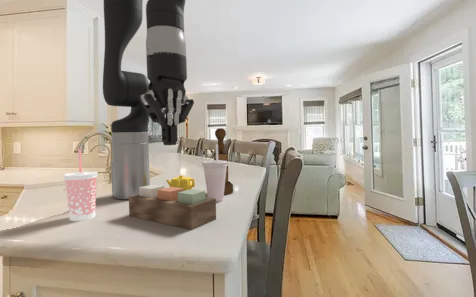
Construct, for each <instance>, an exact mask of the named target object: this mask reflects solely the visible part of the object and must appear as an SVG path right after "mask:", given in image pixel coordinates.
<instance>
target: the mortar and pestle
mask: <svg viewBox="0 0 476 297" xmlns="http://www.w3.org/2000/svg"><path fill="white" fill-rule="evenodd" d="M214 136H215V137H216V140H217V144H218V160H223V161H228V162H229V153H228V152H224V151H225V148H226V147H225V146H226V144H225V143H224V139H225V137H226V136H227V131H226V130H225V129H224V128H222V127H220V128H217V129H216V130H215V131H214ZM213 160H216V152H214V153H213ZM233 193H234V184H233V183H231V181H230V180H229V165H228V166H227V167H226V178H225V187H224V196H226V195H231V194H233Z"/></svg>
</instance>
